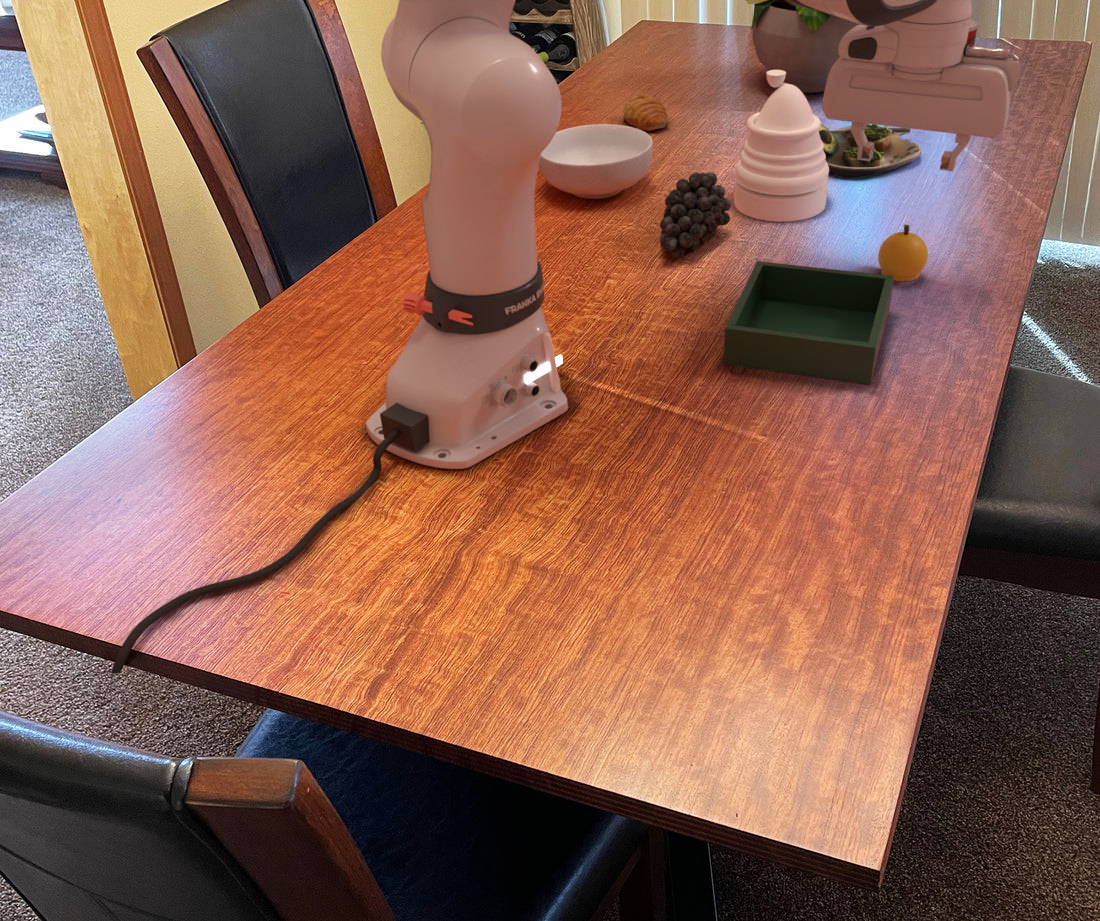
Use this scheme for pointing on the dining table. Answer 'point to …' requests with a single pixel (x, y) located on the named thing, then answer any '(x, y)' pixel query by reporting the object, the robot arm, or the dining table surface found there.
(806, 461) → the dining table surface
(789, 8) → the flower arrangement
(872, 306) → the crate
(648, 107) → the pastry
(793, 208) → the honey pot
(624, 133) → the cereal bowl
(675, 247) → the fruit
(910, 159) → the salad plate
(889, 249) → the orange
